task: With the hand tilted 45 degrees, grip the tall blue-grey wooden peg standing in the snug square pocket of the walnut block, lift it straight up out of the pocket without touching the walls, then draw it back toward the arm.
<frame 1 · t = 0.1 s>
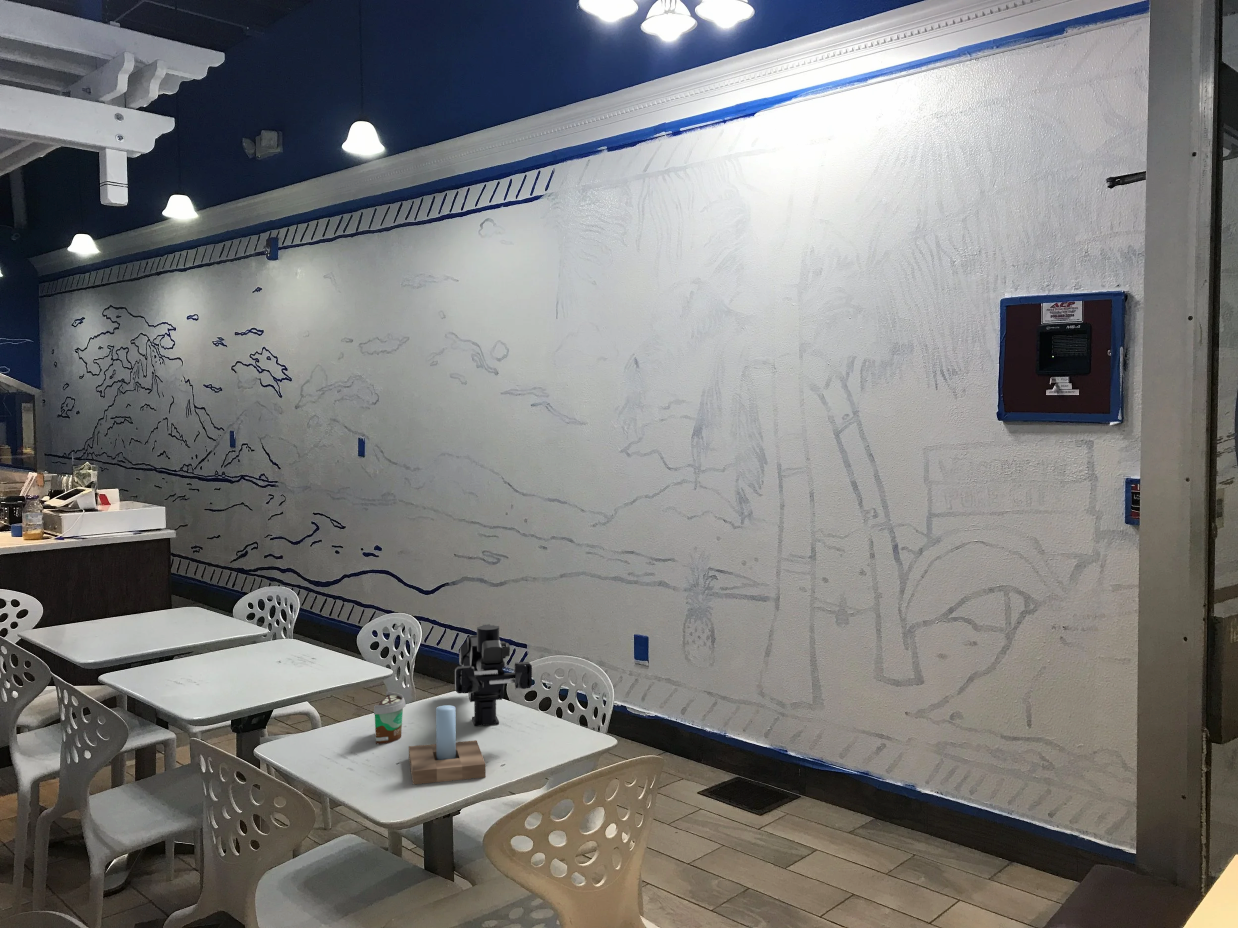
hand: (498, 687, 229), 17 cm above the table, tool horizontal, fingers open, 9 cm apart
food container: (393, 738, 242), on the table
pocket block: (446, 767, 222), on the table
peg: (446, 737, 222), in the pocket block
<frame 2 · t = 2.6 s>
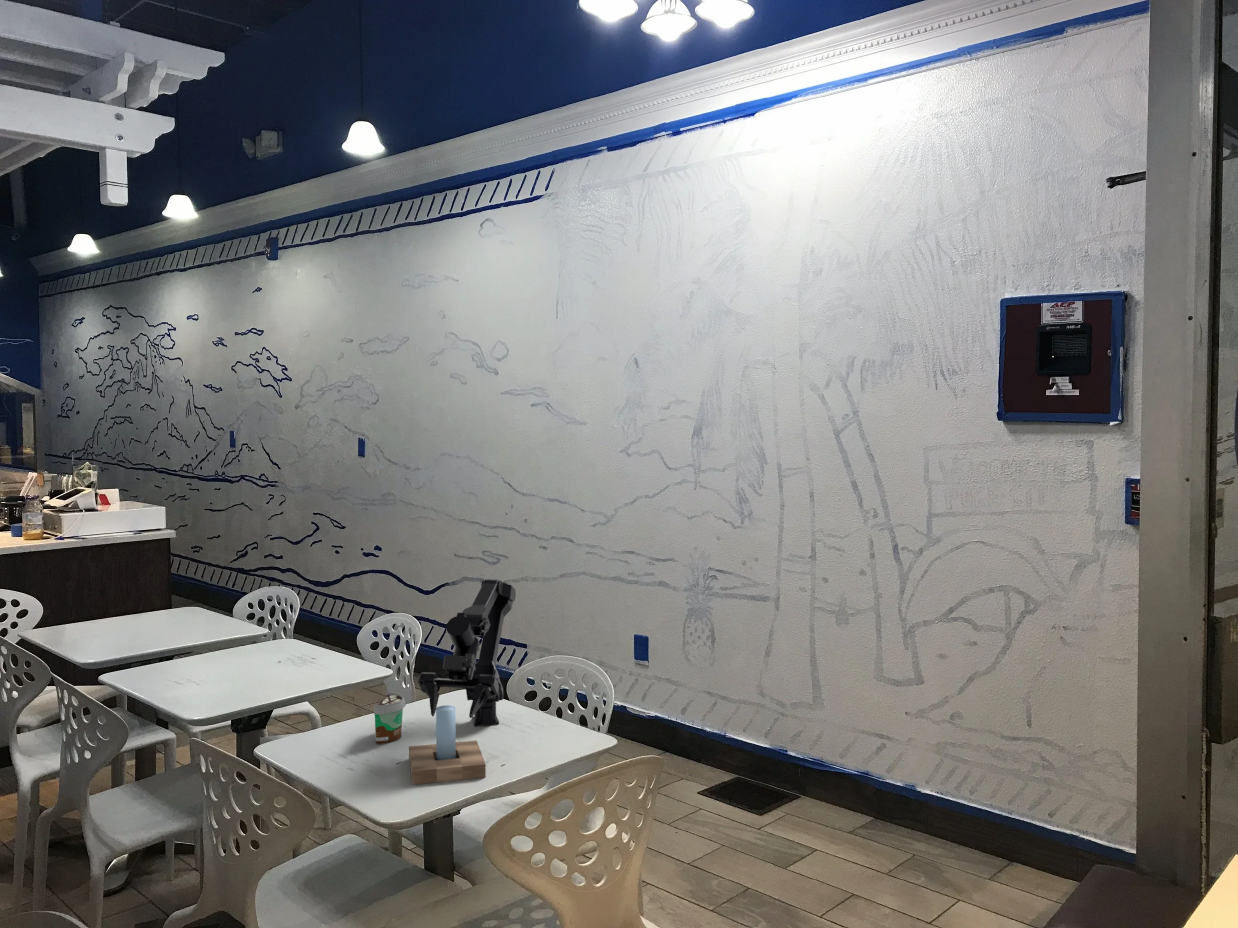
hand: (451, 716, 226), 11 cm above the table, tool tilted 45°, fingers open, 9 cm apart
nothing on the table moved.
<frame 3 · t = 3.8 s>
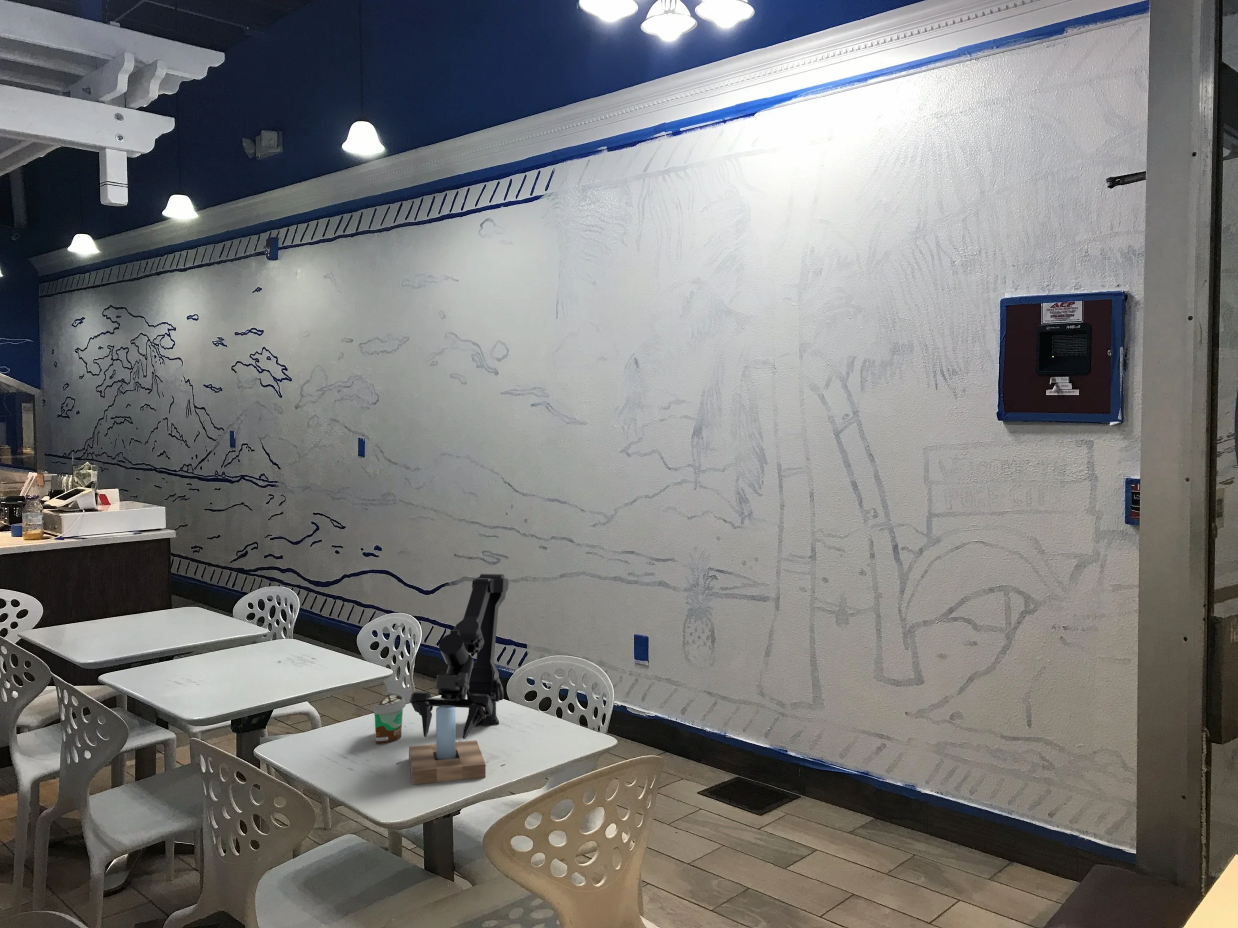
hand: (444, 737, 220), 8 cm above the table, tool tilted 45°, fingers open, 9 cm apart
nothing on the table moved.
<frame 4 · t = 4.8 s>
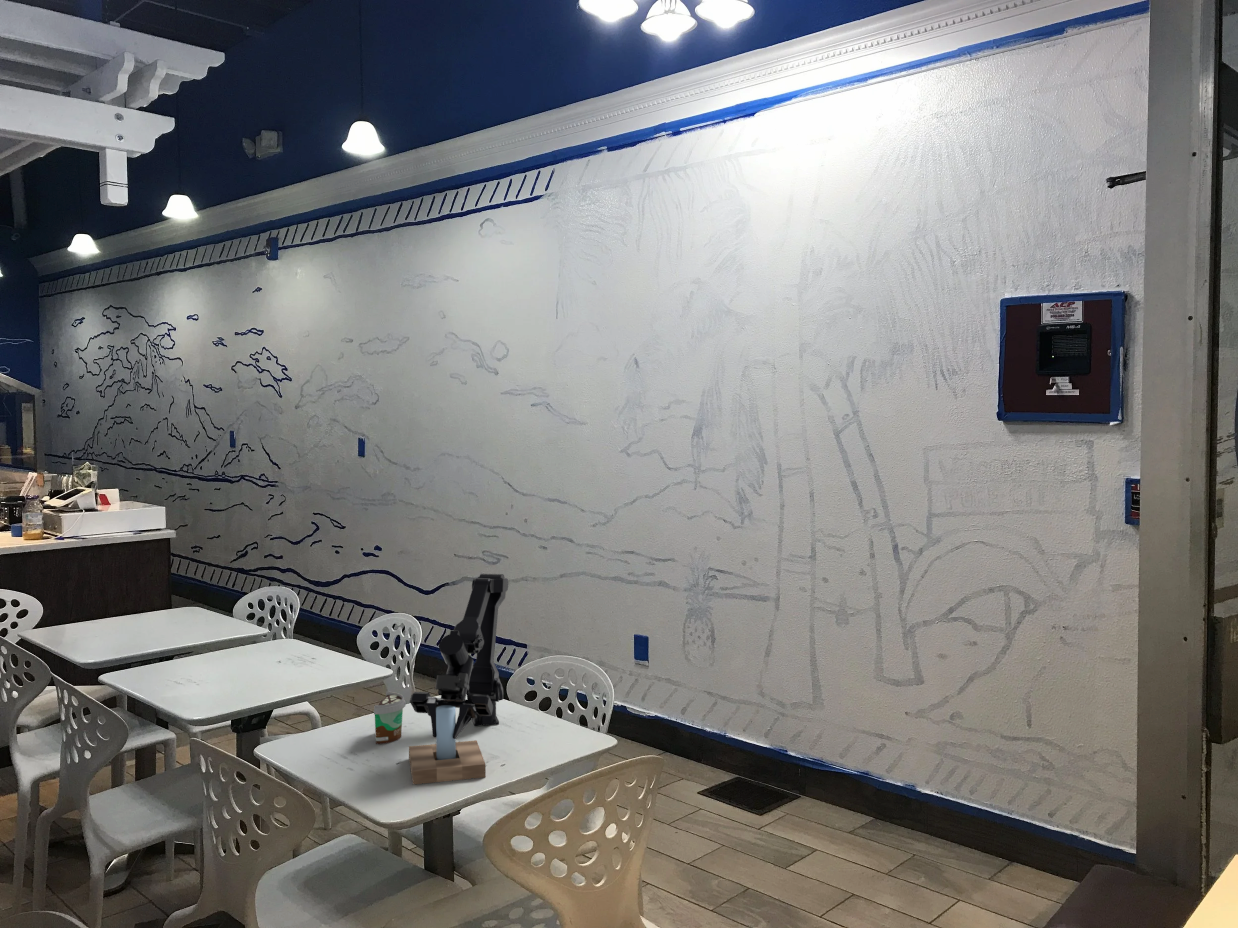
hand: (444, 737, 220), 8 cm above the table, tool tilted 45°, fingers closed on peg, 4 cm apart
peg: (446, 737, 222), in the pocket block, touching gripper
everything else where it was.
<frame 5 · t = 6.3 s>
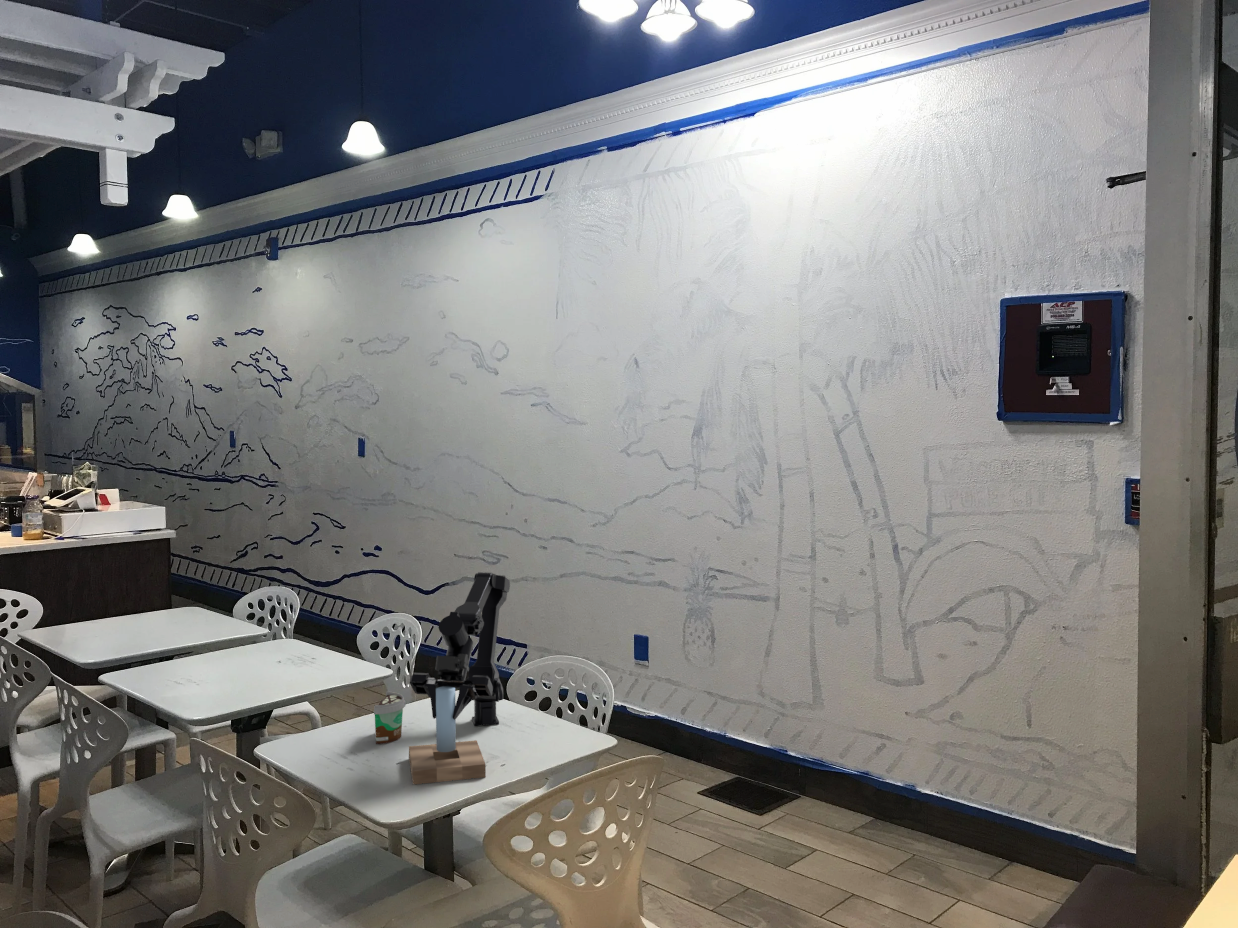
hand: (443, 718, 220), 12 cm above the table, tool tilted 45°, fingers closed on peg, 4 cm apart
peg: (445, 718, 222), point 12 cm above the table, touching gripper
everything else where it was.
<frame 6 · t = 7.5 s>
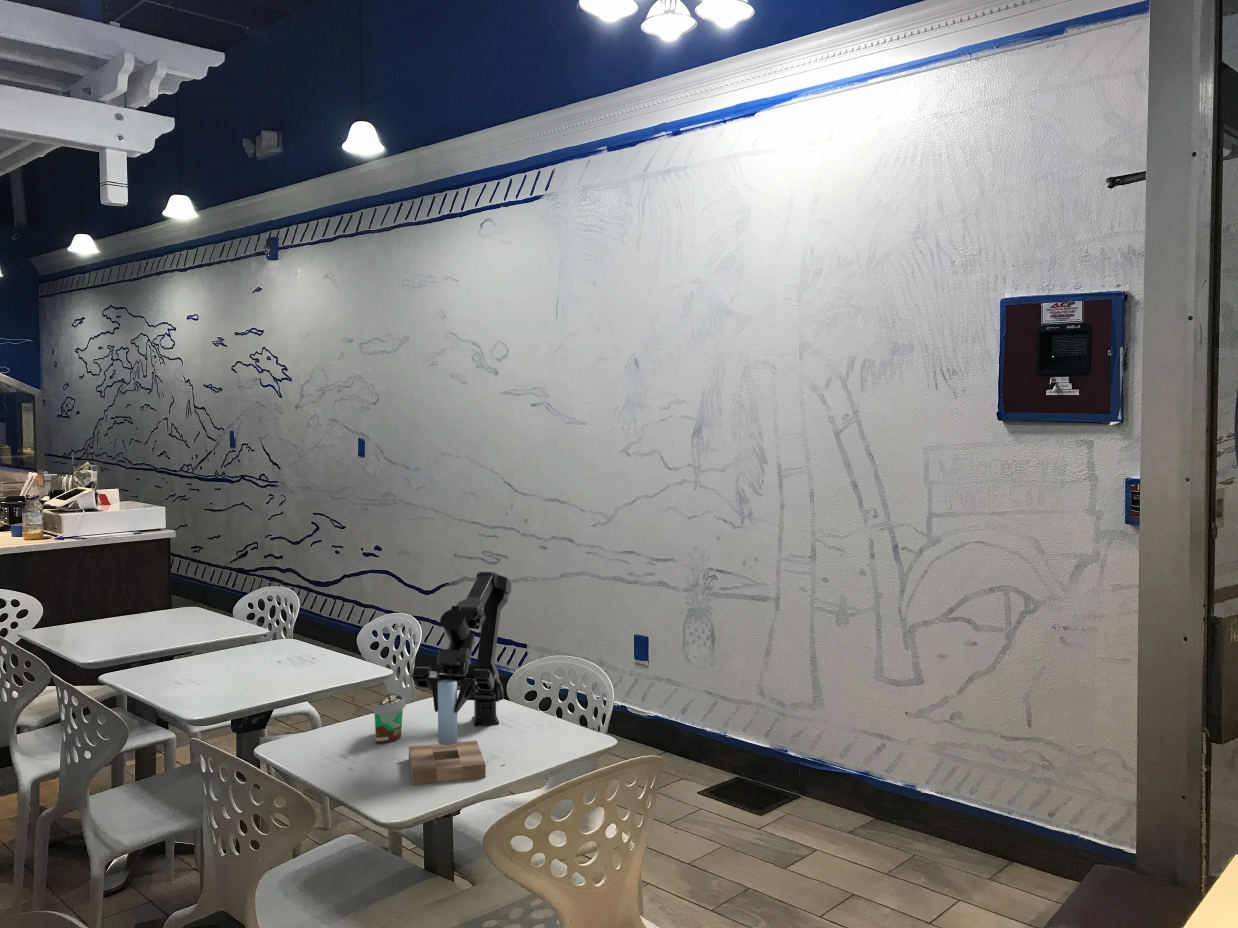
hand: (445, 711, 221), 13 cm above the table, tool tilted 45°, fingers closed on peg, 4 cm apart
peg: (447, 712, 223), point 13 cm above the table, touching gripper
everything else where it was.
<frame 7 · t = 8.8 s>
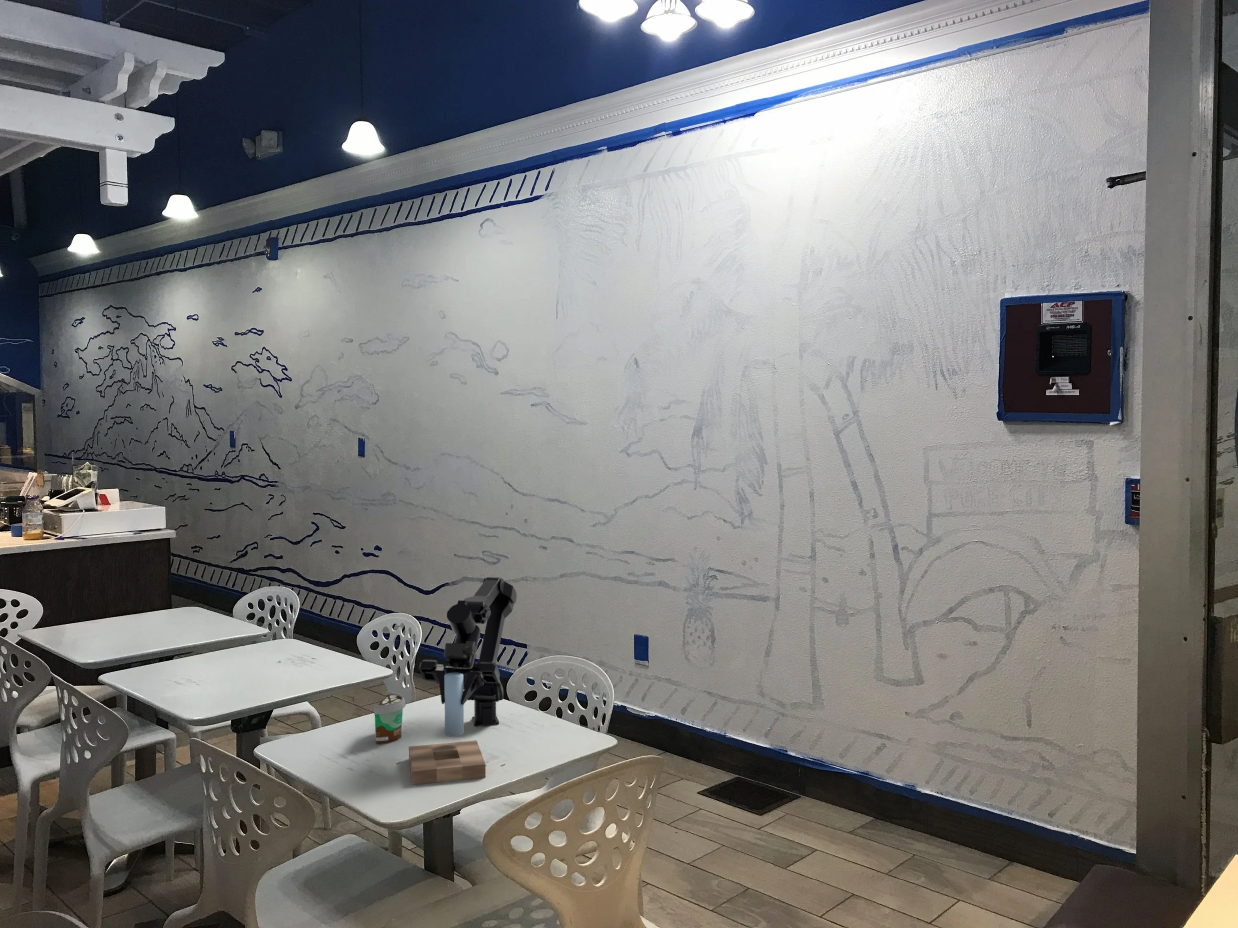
hand: (452, 703, 227), 13 cm above the table, tool tilted 45°, fingers closed on peg, 4 cm apart
peg: (454, 704, 228), point 13 cm above the table, touching gripper
everything else where it was.
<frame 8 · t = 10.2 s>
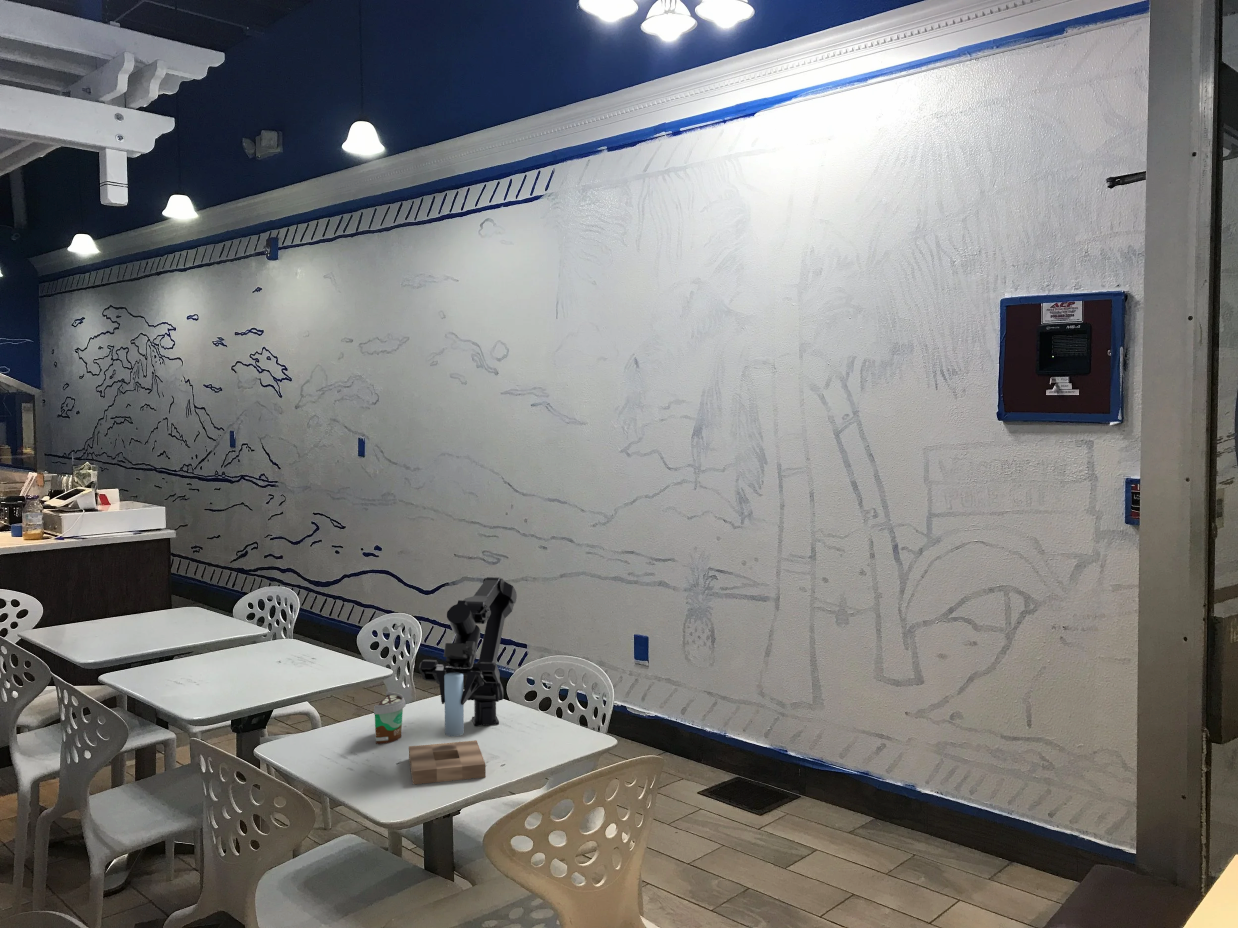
hand: (452, 703, 227), 13 cm above the table, tool tilted 45°, fingers closed on peg, 4 cm apart
peg: (454, 704, 228), point 13 cm above the table, touching gripper
everything else where it was.
at the end: peg point 12.9 cm above the table; peg touching gripper; the gripper is holding peg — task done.
